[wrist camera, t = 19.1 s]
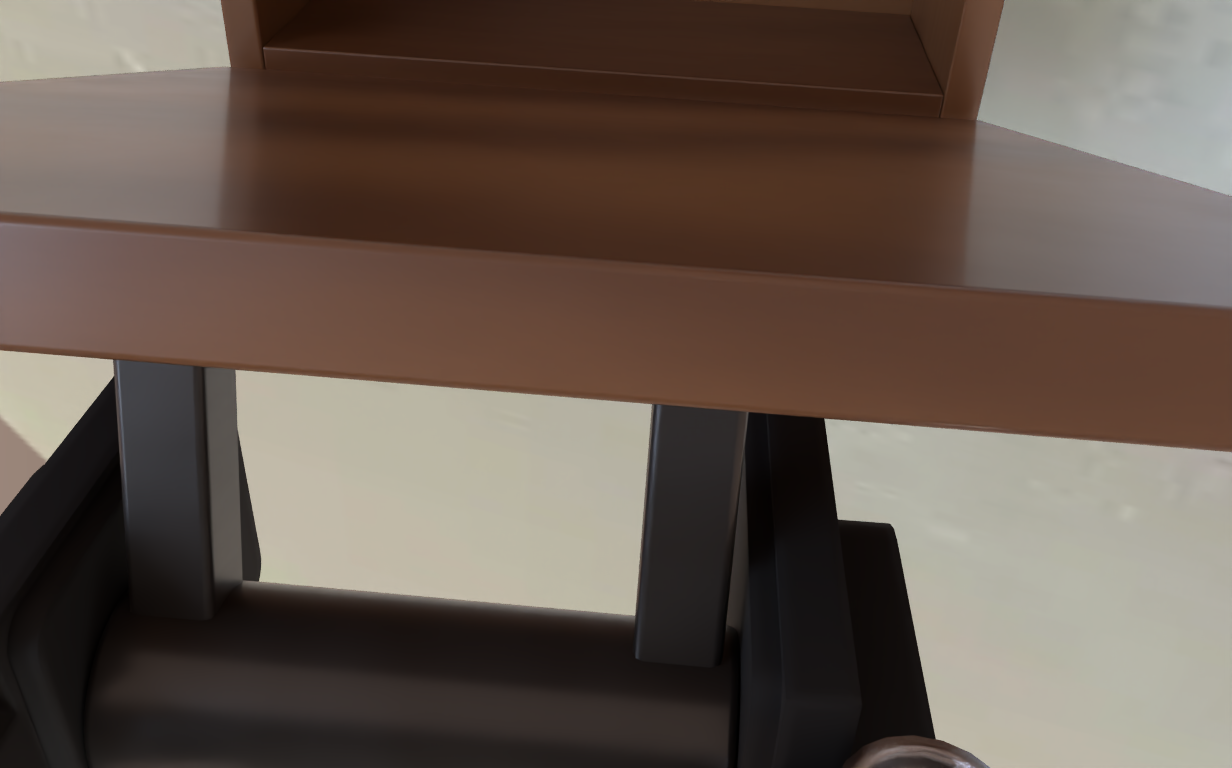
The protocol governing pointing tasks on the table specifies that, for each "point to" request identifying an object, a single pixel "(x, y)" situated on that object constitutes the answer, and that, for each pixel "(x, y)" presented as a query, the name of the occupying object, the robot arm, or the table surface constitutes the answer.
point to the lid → (552, 363)
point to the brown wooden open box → (645, 47)
